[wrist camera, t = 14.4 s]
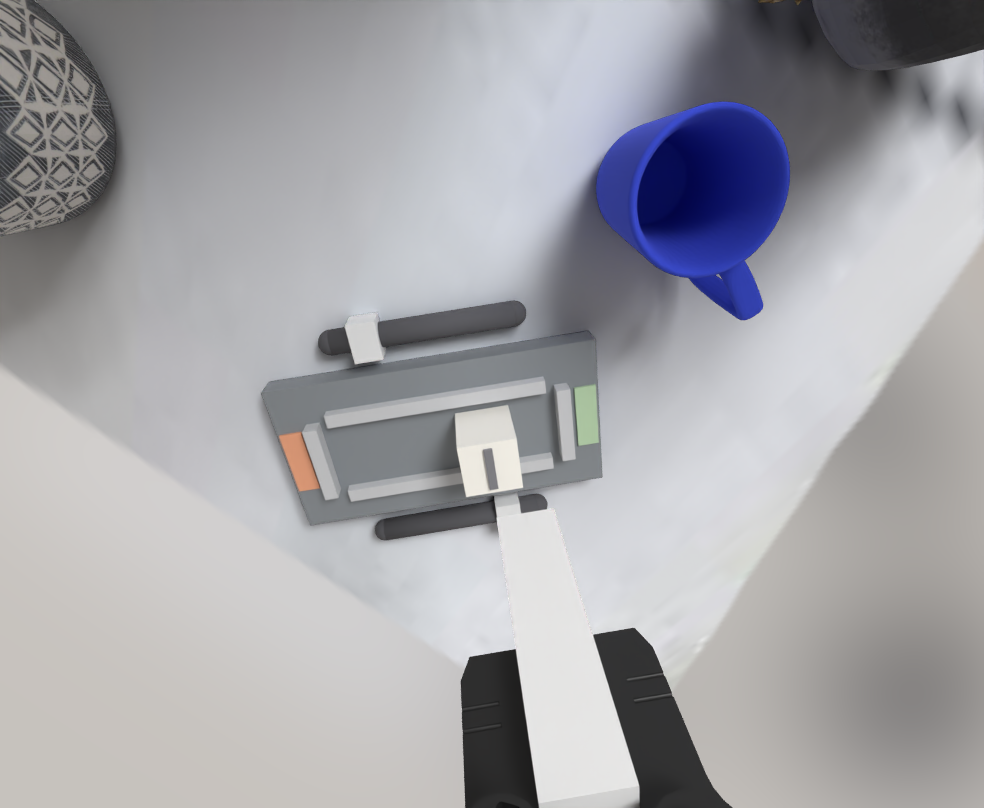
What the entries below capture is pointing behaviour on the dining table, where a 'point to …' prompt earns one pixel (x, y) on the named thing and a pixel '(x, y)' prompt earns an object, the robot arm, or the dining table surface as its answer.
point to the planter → (48, 122)
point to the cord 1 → (415, 329)
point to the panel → (435, 424)
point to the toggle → (487, 451)
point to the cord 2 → (459, 516)
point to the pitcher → (900, 30)
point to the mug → (699, 196)
